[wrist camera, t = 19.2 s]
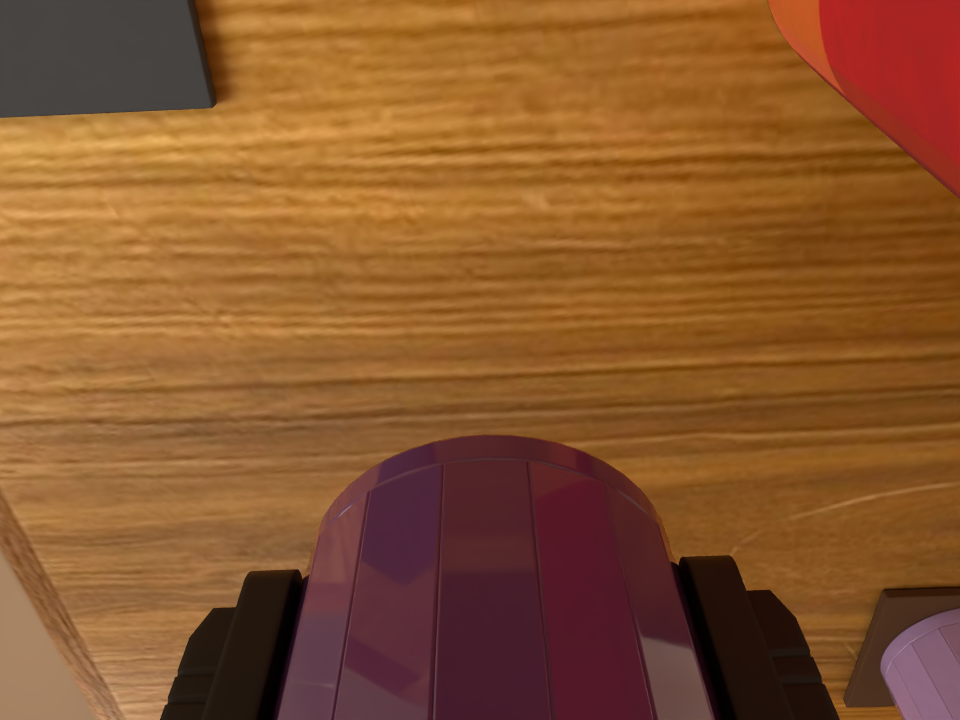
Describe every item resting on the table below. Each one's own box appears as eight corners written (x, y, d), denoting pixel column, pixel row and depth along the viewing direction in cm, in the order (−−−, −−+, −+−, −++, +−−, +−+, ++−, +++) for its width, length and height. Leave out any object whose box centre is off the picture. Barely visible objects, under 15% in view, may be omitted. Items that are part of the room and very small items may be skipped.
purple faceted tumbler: (338, 686, 14) (283, 1031, 10) (282, 439, 11) (167, 792, 7) (653, 675, 14) (731, 1019, 10) (687, 424, 11) (822, 771, 7)
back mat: (842, 699, 33) (846, 708, 33) (882, 589, 29) (886, 597, 29) (1008, 694, 33) (1013, 703, 32) (1069, 583, 29) (1076, 592, 29)
